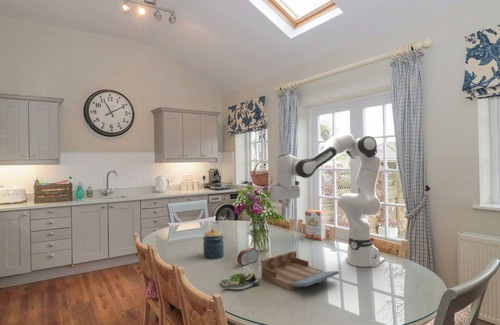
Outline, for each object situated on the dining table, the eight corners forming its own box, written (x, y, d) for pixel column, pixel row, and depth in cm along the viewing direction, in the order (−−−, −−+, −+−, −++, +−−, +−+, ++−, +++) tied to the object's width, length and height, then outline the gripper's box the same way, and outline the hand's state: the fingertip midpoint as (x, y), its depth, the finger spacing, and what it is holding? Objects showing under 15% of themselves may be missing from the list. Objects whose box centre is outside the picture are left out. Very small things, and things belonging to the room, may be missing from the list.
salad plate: (234, 297, 139) (233, 286, 139) (210, 285, 152) (210, 276, 152) (264, 284, 152) (264, 274, 152) (240, 275, 165) (240, 266, 165)
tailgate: (322, 271, 157) (338, 271, 149) (323, 275, 156) (339, 275, 149) (291, 283, 144) (306, 283, 136) (292, 288, 143) (307, 288, 136)
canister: (206, 260, 189) (205, 231, 189) (201, 255, 201) (200, 227, 201) (227, 257, 194) (226, 229, 194) (220, 252, 206) (219, 225, 206)
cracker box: (305, 237, 237) (304, 210, 236) (310, 236, 241) (309, 208, 240) (321, 240, 226) (320, 211, 226) (325, 239, 230) (325, 210, 230)
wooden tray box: (295, 266, 174) (294, 250, 174) (323, 277, 158) (323, 259, 158) (261, 277, 159) (261, 260, 159) (289, 290, 143) (288, 270, 143)
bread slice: (255, 259, 188) (255, 246, 188) (259, 261, 186) (259, 246, 186) (237, 266, 177) (236, 251, 177) (240, 267, 175) (240, 252, 175)
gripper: (275, 184, 166) (275, 210, 167) (301, 181, 179) (302, 205, 179) (267, 183, 171) (268, 209, 172) (293, 181, 184) (294, 204, 184)
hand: (285, 207), depth 175 cm, fingers closed
